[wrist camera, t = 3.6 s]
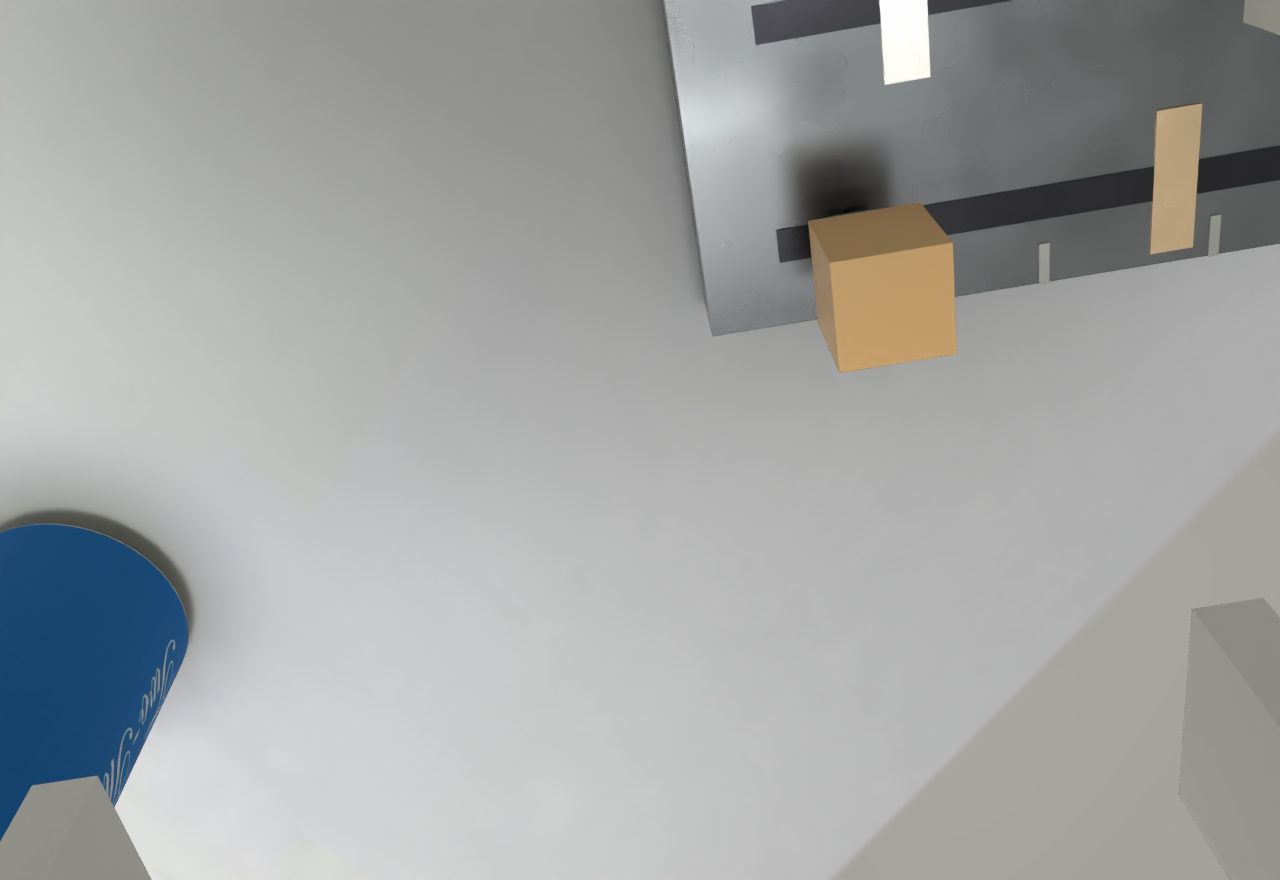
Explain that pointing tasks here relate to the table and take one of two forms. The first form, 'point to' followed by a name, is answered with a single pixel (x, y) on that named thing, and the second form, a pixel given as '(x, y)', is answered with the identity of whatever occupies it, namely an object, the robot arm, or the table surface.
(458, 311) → the table surface
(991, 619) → the table surface
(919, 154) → the console
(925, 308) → the fader
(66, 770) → the beverage can
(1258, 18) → the fader
